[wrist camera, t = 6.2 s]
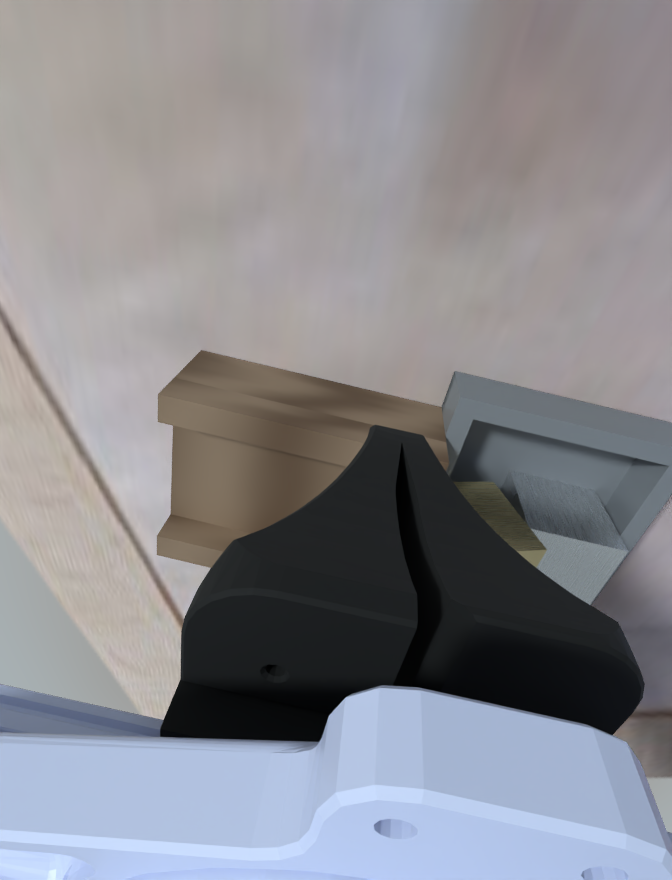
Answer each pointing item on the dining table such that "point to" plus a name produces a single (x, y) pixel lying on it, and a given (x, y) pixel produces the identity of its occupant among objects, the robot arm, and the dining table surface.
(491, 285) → the dining table surface
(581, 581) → the grey cube
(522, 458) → the tray
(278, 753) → the robot arm
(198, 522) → the slot block
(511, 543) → the yellow cube
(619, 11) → the dining table surface
